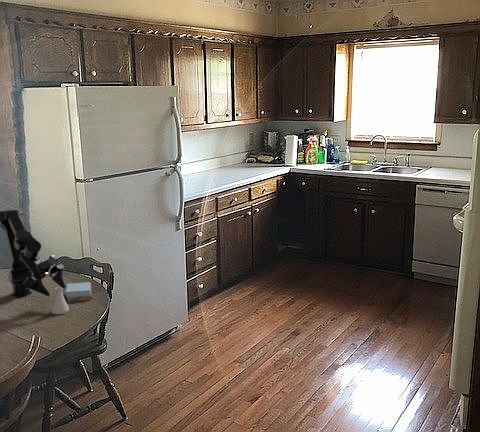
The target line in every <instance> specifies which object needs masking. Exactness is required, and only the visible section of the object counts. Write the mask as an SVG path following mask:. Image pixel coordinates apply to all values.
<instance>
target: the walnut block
mask: <svg viewBox="0 0 480 432" xmlns="http://www.w3.org/2000/svg"><path fill="white" fill-rule="evenodd" d="M92 296H93V295H92V290H91V296H79V297H67V298H66V300H67V302H66V303H70V302H81V301H82V302H83V301H92Z"/></svg>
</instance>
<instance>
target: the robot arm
mask: <svg viewBox="0 0 480 432" xmlns="http://www.w3.org/2000/svg"><path fill="white" fill-rule="evenodd" d="M0 228H1V229H2V230H3V231H4V233H5V239H6V242H7V246H8V250H9V256H10V258H11V259H10V260H11V264H10V267H9V273H8V276H7V279H8V282H9V283H10V284H11V285H12V291H13V292H12V293H10V296H13V297H18V298H23V297H25V296H28V295H30V294H32V293H33V291H35V292H36V293H40V294H42V295H45V296H47V297H50V296H51V294H50V293H49V292H50V291H48V289H47V288H46V287H45V285H44V284H43V280H44V279H45V278H47V277H50V278H51V280H52V281H54V283H55V284H57V285H58V286H59V287H62V288H63V289H64V290H65V288H66V285H65V281H64V279H63V272H64V270H65V266H64V264H62V263H57V262H59V260H58V257H57V256H56V255H55V254H53V255H50V256H48V259H44V258H40V257H39V254H40V251H41V249H42V244H41V241H38V240H37V239H36V238H35V236H33V234H32V233H31V232H30V231H29V230H28V231H27V230H26V228H25V227H24V225H23V221H22V220H21V218H20V215H19V210H18V209H7V210H0ZM42 279H43V280H42Z"/></svg>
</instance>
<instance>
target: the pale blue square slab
mask: <svg viewBox="0 0 480 432" xmlns="http://www.w3.org/2000/svg"><path fill="white" fill-rule="evenodd" d="M91 291H92V284H91V282H89V281H87V282H75V283H67V284H66V289H65V297H66V299H67V297H79V296H91Z"/></svg>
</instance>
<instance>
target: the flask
mask: <svg viewBox="0 0 480 432" xmlns="http://www.w3.org/2000/svg"><path fill="white" fill-rule="evenodd" d="M54 291H55V297H54V302H53V304H52V309H51V314H52V315H64V314H67V313H68V312H70V307H69V305H68V302H66V299H65V296H64V294H63V288H62V287H61V286H59V287H55V288H54Z"/></svg>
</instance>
